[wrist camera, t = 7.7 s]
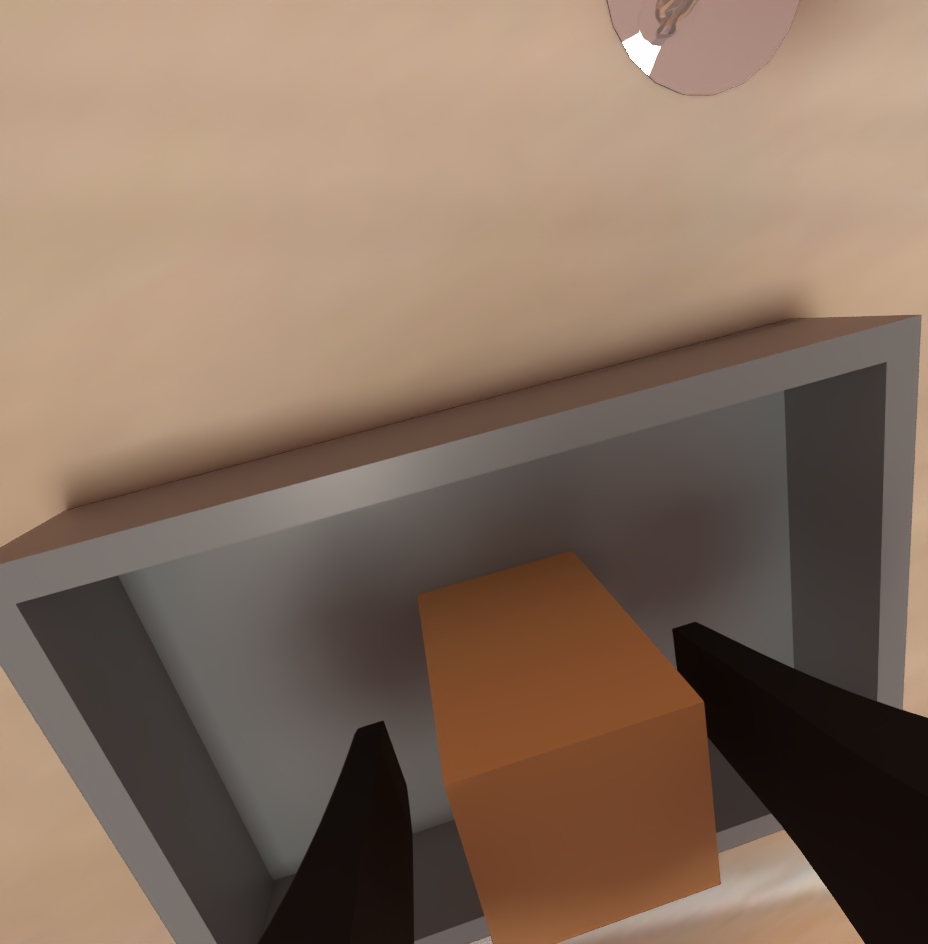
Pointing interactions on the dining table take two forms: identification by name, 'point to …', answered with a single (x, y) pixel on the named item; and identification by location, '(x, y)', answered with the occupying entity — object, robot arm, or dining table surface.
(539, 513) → the serving tray
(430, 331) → the dining table surface
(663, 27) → the wineglass
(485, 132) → the dining table surface
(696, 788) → the orange block
